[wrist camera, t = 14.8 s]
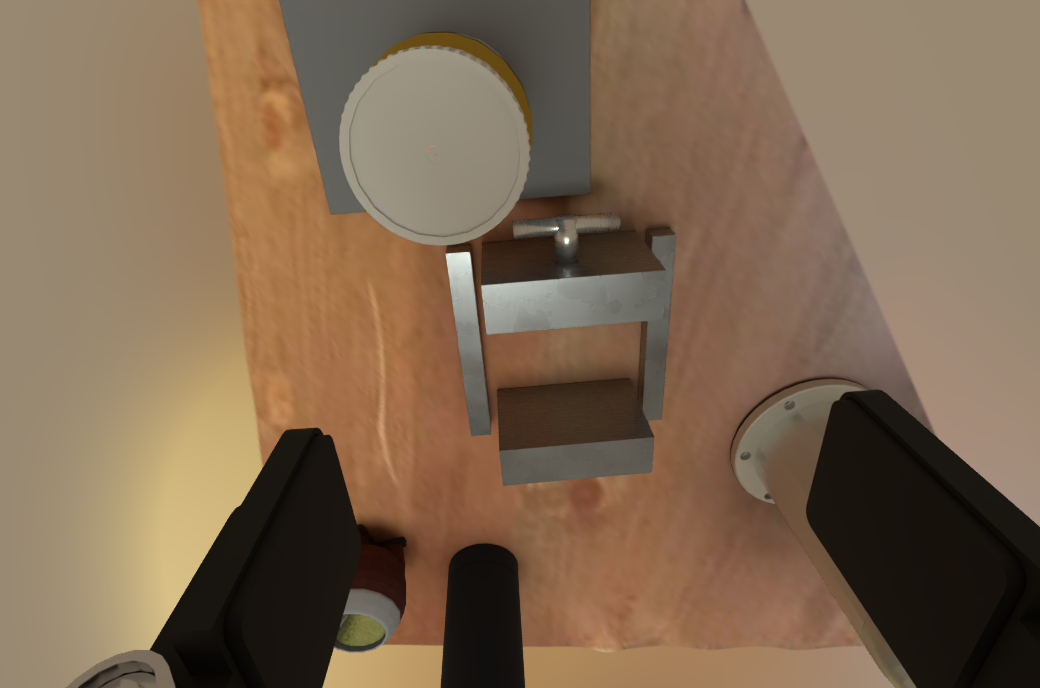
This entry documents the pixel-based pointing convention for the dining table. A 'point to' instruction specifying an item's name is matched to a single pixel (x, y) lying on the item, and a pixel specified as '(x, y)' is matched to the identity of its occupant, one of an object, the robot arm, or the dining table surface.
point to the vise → (564, 304)
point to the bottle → (437, 138)
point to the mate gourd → (374, 595)
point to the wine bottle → (483, 621)
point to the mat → (465, 10)
